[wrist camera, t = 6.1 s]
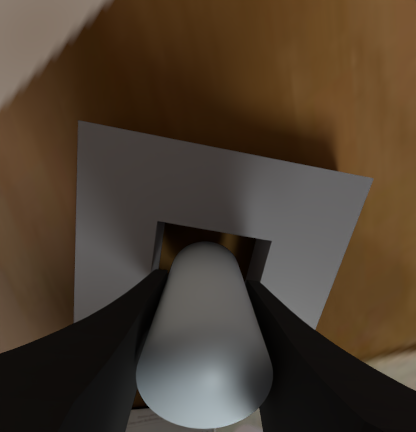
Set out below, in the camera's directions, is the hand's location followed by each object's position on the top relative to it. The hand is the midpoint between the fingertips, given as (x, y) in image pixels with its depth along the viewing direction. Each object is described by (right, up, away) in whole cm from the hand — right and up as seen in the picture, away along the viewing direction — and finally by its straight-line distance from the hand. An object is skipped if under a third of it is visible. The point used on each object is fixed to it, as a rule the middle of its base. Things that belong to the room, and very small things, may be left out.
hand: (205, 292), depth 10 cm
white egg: (0, 0, +2) cm, 2 cm away
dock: (0, +1, +3) cm, 3 cm away
